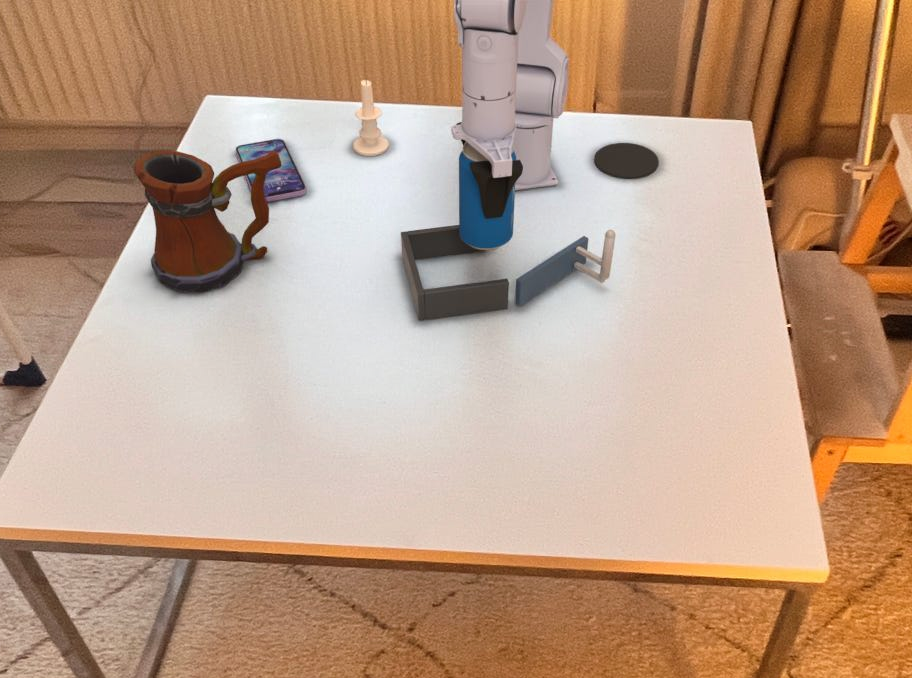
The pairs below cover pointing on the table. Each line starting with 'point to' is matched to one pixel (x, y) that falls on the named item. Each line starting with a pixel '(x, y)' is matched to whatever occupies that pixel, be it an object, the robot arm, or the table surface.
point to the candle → (369, 125)
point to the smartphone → (278, 180)
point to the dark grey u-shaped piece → (449, 297)
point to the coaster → (626, 160)
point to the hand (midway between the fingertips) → (486, 199)
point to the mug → (200, 218)
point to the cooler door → (565, 267)
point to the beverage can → (480, 208)
